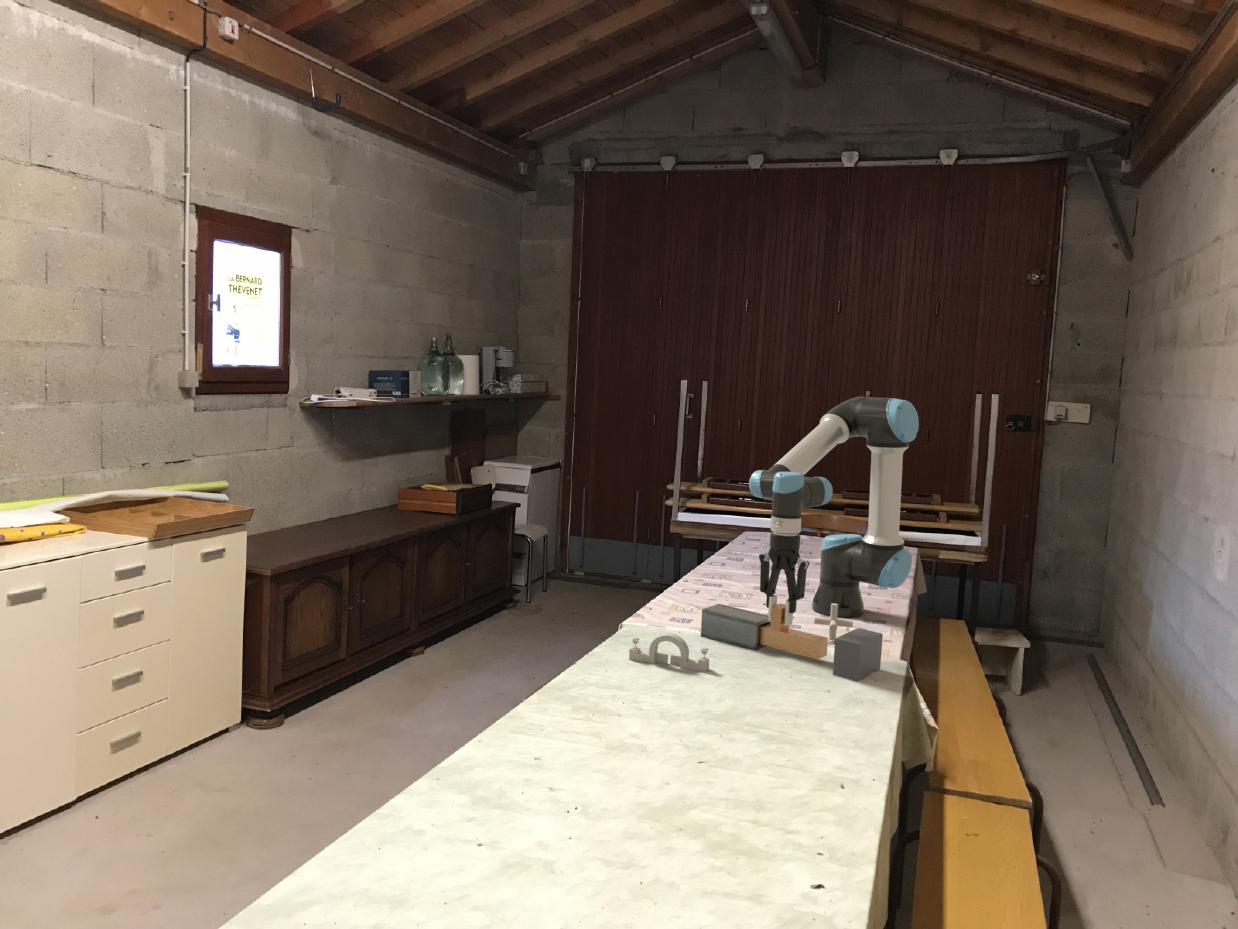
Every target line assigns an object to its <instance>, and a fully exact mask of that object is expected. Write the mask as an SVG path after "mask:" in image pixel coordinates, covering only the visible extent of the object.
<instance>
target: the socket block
mask: <svg viewBox="0 0 1238 929" xmlns="http://www.w3.org/2000/svg"><path fill="white" fill-rule="evenodd" d="M883 635H884V634H883V633H881V632H877V631H873V630H869V629H864V628H861V627H860V628H859V627H857V628H855V629H853V630H850V631H849V632H846V633H844V634H842V635H840V636H836V638H835V642H834V652H833V668H832V675H833V676H835V677H840V678H844V679H848V680H851V681H855V682H859V681H862V680H864V679H865V678H867V677H868V676H870V675H872V674H874V673H876V672H878V671H879V670H881V665H882V664H881V663H882V653H883V652H882V650H883V637H884V636H883Z"/></svg>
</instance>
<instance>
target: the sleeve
mask: <svg viewBox="0 0 1238 929" xmlns="http://www.w3.org/2000/svg"><path fill="white" fill-rule="evenodd" d="M700 622H701V623H700V624H701V626H700V637H701V638H706V639H709V640H713V641H716V642H721V643H723V644H724V643H725V644H727V645H731V646H736V647H740V648H743V649H748V650H751V651H755V652H756V651H759V650H761V649H763V648H765V647H767V646H766V645H762V644H758V636H759V625H761V624H764V623H769V624H771V622H768V614H764V613H760V612H756V611H755V612H754V611H751V610H747V609H744V608H743V609H742V608H738V607H734V606H730V605H726V604H721V603H717V604H714V605H710V606H707V607H704V608H702V609H701V621H700Z"/></svg>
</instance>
